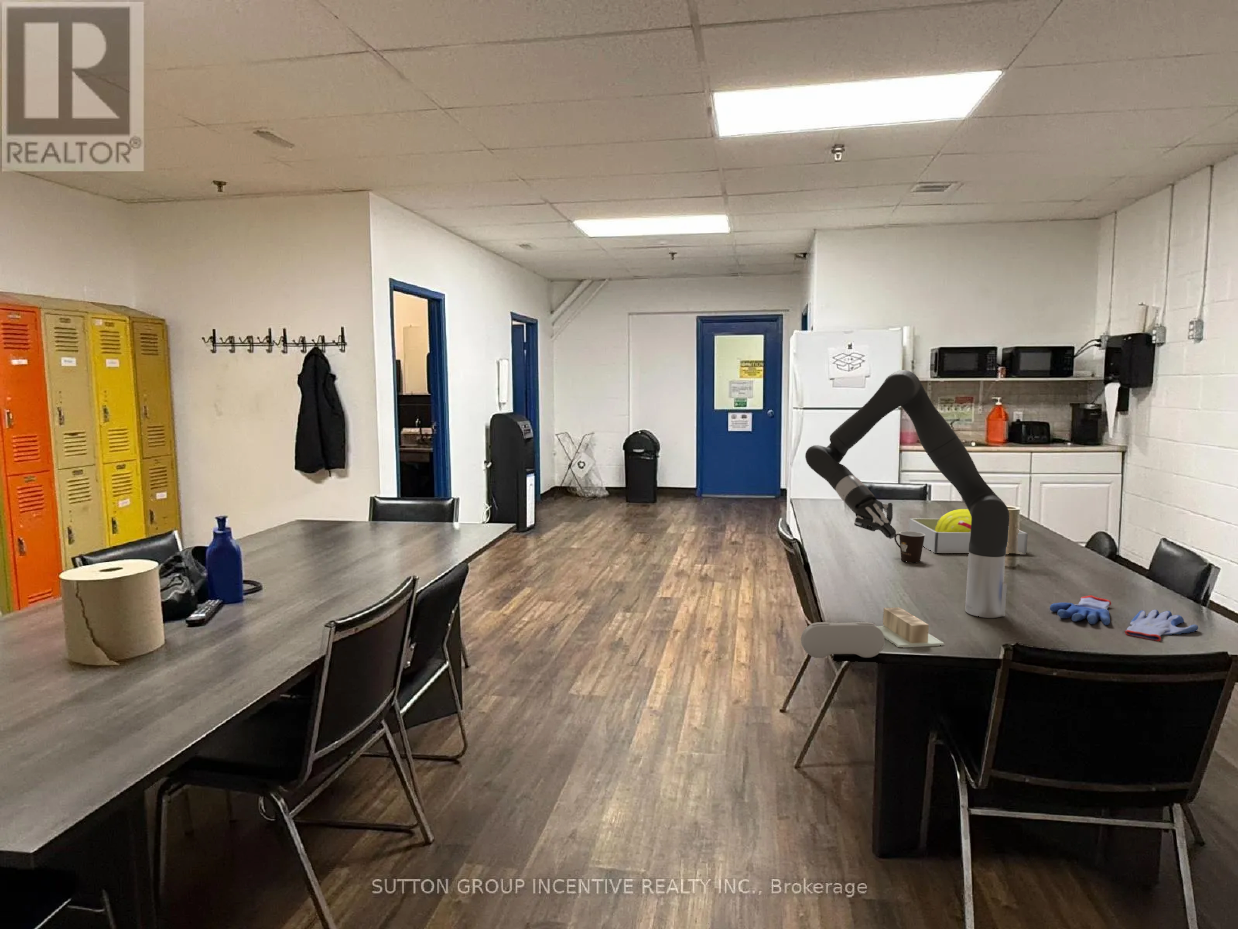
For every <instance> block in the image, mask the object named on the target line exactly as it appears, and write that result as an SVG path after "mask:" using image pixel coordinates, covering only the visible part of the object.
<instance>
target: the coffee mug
mask: <svg viewBox="0 0 1238 929" xmlns="http://www.w3.org/2000/svg"><path fill="white" fill-rule="evenodd" d="M897 537H899V542H898V541H897ZM924 537H925V534H923V533H920V532H913V531H908V530H907V531H899V533H896V536H895V537H894V542H895V544H896V545H897V546H898V548H899V549H900V561H901V560H902V562H903V561H907V562H919V561H920V562H921V559H922V552H923V548H924V547H923V543H924ZM907 562H906V563H907ZM920 562H919V563H920Z"/></svg>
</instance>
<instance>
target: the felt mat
mask: <svg viewBox="0 0 1238 929" xmlns="http://www.w3.org/2000/svg"><path fill="white" fill-rule="evenodd" d="M876 626H877V627H878V628H879V629H880V630H881V631H882V633H883V635H884V639H885V640H886V641H888V640H889V641H888V642H889V643H891V644H892V643H894V644H895V645H896V646H895V645H894V644H893V645H894V646H895V647H897V648H898V647H903V648H917V647H937V646H938V647H939V646H940V645H941V646H945V642H943V641H942V640H939V639H938V638H936V637H935V636H934V635H932V634H930V633H929V632H928V642H924V643H910V642H908V641H907V640H905V639H904V638H902V637H901V636H899V635H898V634H896V633H895V632H893V631H892V630H890V629H889V628H887V627H886V626H884V625H876Z"/></svg>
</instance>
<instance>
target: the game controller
mask: <svg viewBox="0 0 1238 929" xmlns="http://www.w3.org/2000/svg"><path fill="white" fill-rule="evenodd" d="M877 626H878V625H876V624H875V623H873V622H870V621H868V622H867V621H858V622H828V621H827V622H824V621H822V622H821V621H819V622H813V623H811V624H810V625H808V626H807V627H806V628H804V630H803V631H802V633H801V635H800V643H801V646H802V648H803V650H804V651H805V653H807V654H808V655H809V656H811V657H812V658H815V659H817V658H818V659H823V658H826V657H828V656H830V655H857V656H859V657H861V658H865V659H867V658H873V657H876V656H877V655H879V654H880V653H881V651H883V648H884V646H885V642H886V639H885V638H884V635H883V633H882V631H881V630H880V629H879V628H878V627H877Z"/></svg>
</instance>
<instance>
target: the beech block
mask: <svg viewBox="0 0 1238 929" xmlns="http://www.w3.org/2000/svg"><path fill="white" fill-rule="evenodd" d="M882 613H883V614H882V618H883V619H882V626H886V627H887V628H889V629H890V630H892V631H893V632H895V633H896V634H898V635H899V636H901V637H902V638H904V639H905V640H907V641H908V642H910V643H924V642H928V633H929V627H930V625H929V623H926V622H925V621H923V620H922V619H920V618H918V617H917V616H914V615H913V614H911V613H909V612H908V611H907V610H905V609H903V608H902V607H883V612H882Z"/></svg>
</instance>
